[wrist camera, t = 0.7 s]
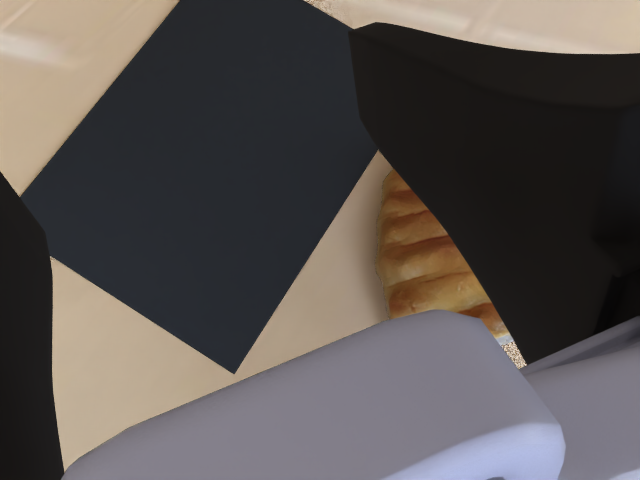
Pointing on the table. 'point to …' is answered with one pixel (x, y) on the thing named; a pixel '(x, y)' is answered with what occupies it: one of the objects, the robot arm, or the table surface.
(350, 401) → the robot arm
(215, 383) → the table surface
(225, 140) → the placemat
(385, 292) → the pastry
